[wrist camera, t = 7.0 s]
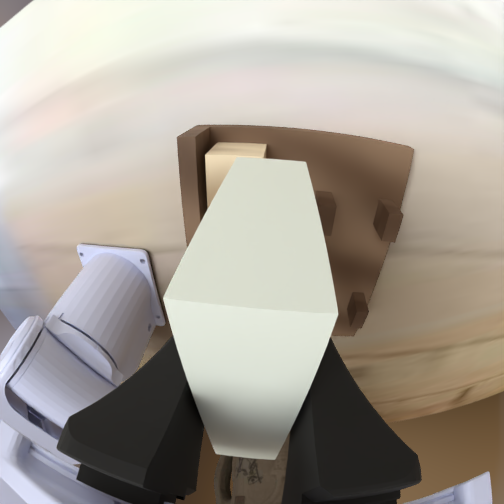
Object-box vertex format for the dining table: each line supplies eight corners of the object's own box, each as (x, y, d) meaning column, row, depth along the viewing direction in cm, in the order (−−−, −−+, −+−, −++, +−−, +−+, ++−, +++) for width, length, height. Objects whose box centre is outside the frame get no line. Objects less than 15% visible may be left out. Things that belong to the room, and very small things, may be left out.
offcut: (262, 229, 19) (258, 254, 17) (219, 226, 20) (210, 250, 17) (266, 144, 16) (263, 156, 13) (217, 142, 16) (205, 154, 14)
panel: (282, 334, 16) (274, 459, 10) (237, 330, 16) (216, 453, 10) (305, 161, 10) (338, 313, 4) (236, 157, 10) (162, 297, 4)
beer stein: (282, 348, 28) (266, 537, 12) (343, 378, 31) (348, 528, 15) (208, 389, 36) (181, 517, 20) (266, 412, 39) (253, 526, 23)
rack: (352, 330, 26) (358, 361, 23) (211, 319, 27) (203, 350, 24) (409, 146, 15) (434, 163, 12) (197, 125, 16) (176, 137, 13)
